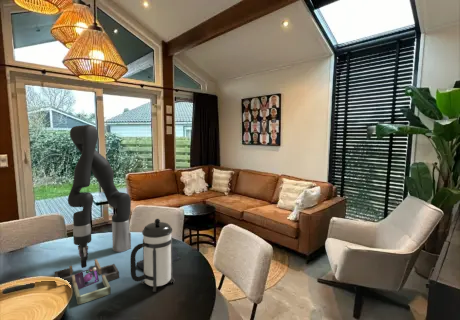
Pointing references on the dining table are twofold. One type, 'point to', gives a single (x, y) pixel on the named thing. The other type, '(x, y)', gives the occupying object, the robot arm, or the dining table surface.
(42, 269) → the dining table surface
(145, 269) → the coffee press
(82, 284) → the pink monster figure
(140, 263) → the dark slate chunk
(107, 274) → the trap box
